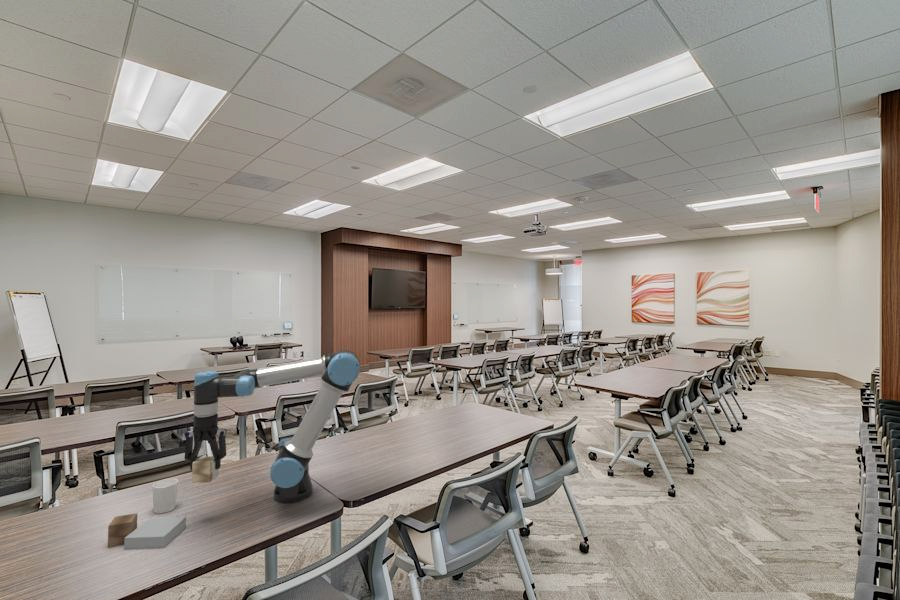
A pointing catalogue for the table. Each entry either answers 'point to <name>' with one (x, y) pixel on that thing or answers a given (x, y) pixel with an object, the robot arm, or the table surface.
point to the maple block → (202, 470)
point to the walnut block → (121, 529)
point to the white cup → (165, 495)
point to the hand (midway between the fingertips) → (205, 478)
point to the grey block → (155, 533)
